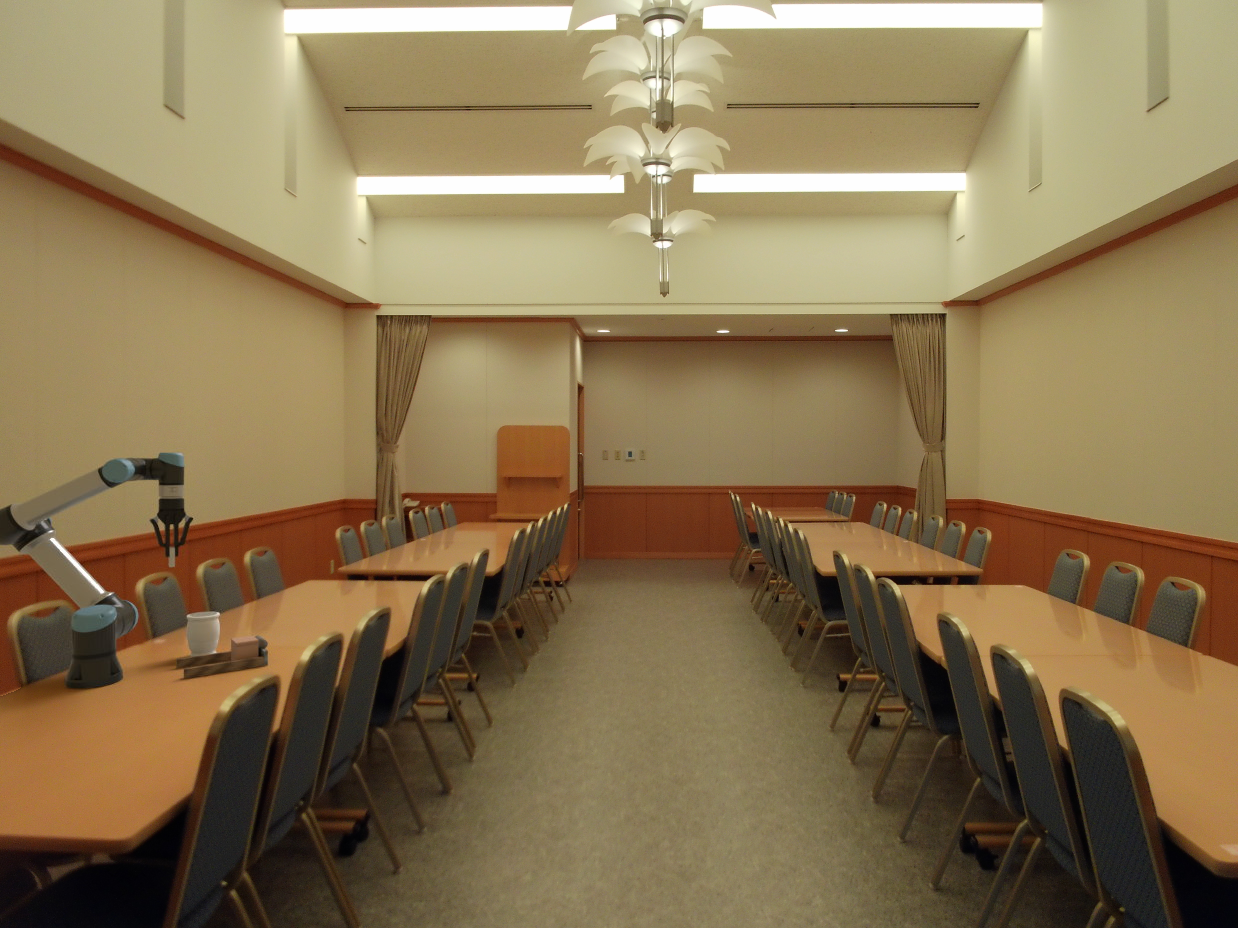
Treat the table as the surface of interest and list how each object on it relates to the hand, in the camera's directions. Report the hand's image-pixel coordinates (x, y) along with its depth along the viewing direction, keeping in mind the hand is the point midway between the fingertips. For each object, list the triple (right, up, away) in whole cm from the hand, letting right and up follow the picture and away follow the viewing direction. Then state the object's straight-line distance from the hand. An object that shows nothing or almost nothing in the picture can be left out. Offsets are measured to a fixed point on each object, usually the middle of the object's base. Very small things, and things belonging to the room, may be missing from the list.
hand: (171, 566), depth 253 cm
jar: (+3, -34, +15) cm, 37 cm away
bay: (+17, -35, +2) cm, 38 cm away
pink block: (+22, -35, +6) cm, 41 cm away
